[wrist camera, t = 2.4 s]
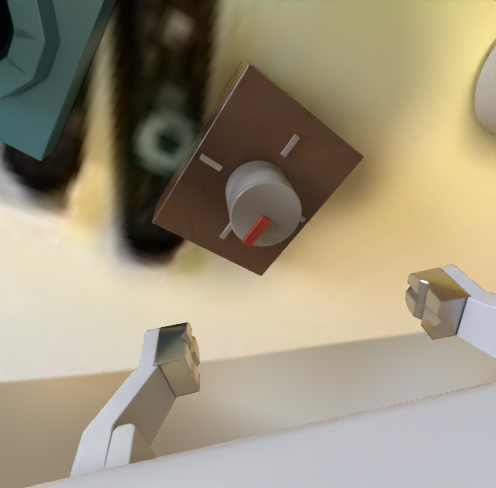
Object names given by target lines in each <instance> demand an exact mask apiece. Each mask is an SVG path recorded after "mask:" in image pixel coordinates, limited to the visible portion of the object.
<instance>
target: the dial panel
mask: <svg viewBox="0 0 496 488" xmlns="http://www.w3.org/2000/svg"><path fill="white" fill-rule="evenodd" d="M362 158H363V155H361V154H360V153H359V152H358V151H356V150H355V149H354V148H353V147H351V146H350V145H349V144H348V143H347V142H345V141H344V140H343V139H342V138H340V137H339V136H338V135H337V134H336V133H334V132H333V131H332V130H331V129H329V128H328V127H327V126H326V125H325V124H323V123H322V122H321V121H320V120H318V119H317V118H316V117H315V116H314V115H312V114H311V113H310V112H309V111H307V110H306V109H305V108H304V107H303V106H301V105H300V104H299V103H298V102H296V101H295V100H294V99H293V98H292V97H290V96H289V95H288V94H287V93H285V92H284V91H283V90H282V89H280V88H279V87H278V86H277V85H276V84H274V83H273V82H272V81H271V80H269V79H268V78H267V77H266V76H265V75H263V74H262V73H261V72H260V71H258V70H257V69H256V68H255V67H254V66H252V65H251V64H249V63H247V62H245V61H242V62H241V64H240V65H239V67H238V69H237V70H236V72H235V74H234V75H233V77H232V79H231V80H230V82H229V84H228V85H227V87H226V89H225V90H224V92H223V94H222V95H221V97H220V99H219V100H218V102H217V104H216V105H215V107H214V109H213V110H212V112H211V114H210V115H209V117H208V119H207V120H206V122H205V124H204V125H203V127H202V129H201V130H200V132H199V134H198V135H197V137H196V139H195V140H194V142H193V144H192V145H191V147H190V149H189V150H188V152H187V154H186V155H185V157H184V159H183V160H182V162H181V164H180V165H179V167H178V168H177V170H176V172H175V173H174V175H173V177H172V178H171V180H170V182H169V183H168V185H167V187H166V188H165V190H164V192H163V193H162V195H161V197H160V198H159V200H158V202H157V205H156V209H155V213H154V217H153V221H152V222H153V223H154V224H156V225H158V226H160V227H162V228H164V229H166V230H168V231H170V232H172V233H174V234H177V235H179V236H181V237H183V238H185V239H187V240H189V241H191V242H193V243H195V244H197V245H199V246H201V247H203V248H205V249H207V250H209V251H211V252H213V253H215V254H217V255H219V256H221V257H224V258H226V259H228V260H230V261H232V262H234V263H236V264H238V265H240V266H242V267H244V268H246V269H248V270H250V271H252V272H254V273H256V274H258V275H260V276H262V275H263V273H264V272H265V271H266V270H267V269H268V268H269V267H270V265H271V264H272V263H273V262H274V261H275V260H276V258H277V257H278V256H279V255H280V254H281V253H282V251H283V250H284V249H285V248H286V247H287V246H288V244H289V243H290V242H291V241H292V240H293V239H294V237H295V236H296V235H297V234H298V233H299V232H300V230H301V229H302V228H303V227H304V226H305V225H306V224H307V222H308V221H309V220H310V219H311V218H312V217H313V215H314V214H315V213H316V212H317V211H318V210H319V208H320V207H321V206H322V205H323V204H324V203H325V201H326V200H327V199H328V198H329V197H330V196H331V194H332V193H333V192H334V191H335V190H336V189H337V188H338V186H339V185H340V184H341V183H342V182H343V181H344V179H345V178H346V177H347V176H348V175H349V174H350V172H351V171H352V170H353V169H354V168H355V167H356V165H357V164H358V163H359V162H360V161H361V160H362ZM259 160H261V161H267V162H270V163H272V164H274V165H276V166H277V167H278V168H280V169H281V171H282V172H283V173H284V175H285V176H286V178H287V180H288V181H289V183H290V184H291V186H292V187H293V189H294V191H295V192H296V194H297V195H298V197H299V199H300V202H301V207H302V214H301V219H300V222H299V224H298V226H297V228H296V229H295V231H294V232H293V233H292V234H291V235H290V236H289V237H288V238H287V239H285V240H284V241H282V242H280V243H277V244H275V245H271V246H254V245H252V246H251V247H249V246H247V245H246V244H244V243H243V242H242V240H241V239H240V238H239V237H238V236H237V235H236V234H235V232H234V231H233V229H232V226H231V223H230V217H229V212H228V206H227V200H226V185H227V181H228V179H229V177H230V176H231V174H232V173H233V172H234V171H235V170H236V169H237V168H238V167H240V166H241V165H243V164H245V163H247V162H251V161H259Z"/></svg>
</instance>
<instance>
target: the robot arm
mask: <svg viewBox="0 0 496 488" xmlns="http://www.w3.org/2000/svg"><path fill="white" fill-rule="evenodd" d="M408 283H409V285H410V287H409V289H408V290H407V291H406V298H405V299H406V303H407V306H408V308H409V310H410V312H411V313H412V314H413V316H415V317H417V318H419V319H421V320H422V321H421V326H422V327H423V328H424V330H425V331H426V332H427V334H428V335H429V336H430V337H431V339H433V340H434V339H439V338H444V337H450V336H455V335H457V337H458V338H460V339H462V340H463V341H466V342H467V343H469V344H471V345H472V346H474V347H476V348H477V349H479V350H481V351H482V352H484V353H486V354H488V355H489V356H491V357H493V358H495V359H496V294H495V293H492V292H490V293H487V292H485V291H484V290H483V289H482V288H481V287H480V286H478V285H477V284H476V283H475V282H474V281H473V280H471V279H470V278H469V277H468V276H467V275H466V274H465V273H463V272H462V271H461V270H460V269H459V268H458V267H456V266H455V265H452V264H451V265H446V266H442V267H438V268H433V269H429V270H425V271H420V272H416V273H411V274H410V275H409V277H408ZM199 363H200V360H199V349H198V344H197V341H196V338H195V337H194V336H192V328H191V326H190V324H189V323H188V322H187V323H181V324H176V325H171V326H166V327H161V328H157V329H152V330H147V331H146V333H145V335H144V341H143V346H142V351H141V356H140V362H139V367H138V370H134V371H133V372H132V374H131V375H130V376H129V377H128V379H127V380H126V381H125V382H124V383H123V384H122V386H121V387H120V388H119V389H118V390H117V392H116V393H115V394H114V395H113V397H112V398H111V399H110V400H109V401H108V403H107V404H106V405H105V407H104V408H103V409H102V410H101V411H100V412H99V414H98V415H97V416H96V417H95V418H94V420H93V421H92V422H91V423H90V425H89V426H88V427H87V428H86V429H85V431H84V432H83V434H82V437H81V441H80V444H79V447H78V451H77V454H76V458H75V461H74V464H73V467H72V471H71V474H70V477H69V478H64V479H60V480H55V481H51V482H47V483H42V484H37V485H33V486H28V487H24V488H496V382H492V383H488V384H483V385H478V386H474V387H469V388H465V389H461V390H457V391H452V392H447V393H443V394H438V395H434V396H429V397H425V398H421V399H416V400H412V401H407V402H404V403H399V404H394V405H390V406H385V407H381V408H377V409H372V410H367V411H363V412H358V413H354V414H349V415H345V416H341V417H336V418H332V419H327V420H323V421H319V422H314V423H310V424H305V425H301V426H297V427H292V428H287V429H283V430H279V431H274V432H269V433H265V434H260V435H256V436H252V437H247V438H243V439H238V440H234V441H230V442H225V443H220V444H216V445H212V446H207V447H203V448H198V449H194V450H190V451H185V452H180V453H176V454H171V455H167V456H163V457H158V458H157V457H156V455H155V454H154V452H153V451H152V449H151V448H150V445H151V444H152V442H153V440H154V438H155V436H156V434H157V433H158V431H159V429H160V427H161V425H162V423H163V422H164V420H165V418H166V416H167V414H168V412H169V410H170V409H171V407H172V405H173V403H174V401H175V399H176V398H175V397H179V396H182V395H187V394H191V393H195V392H198V391H199V389H200V388H199V385H200V383H199V382H200V380H199V379H200V377H199V376H200V374H199V372H198V369H197V366H198V365H199Z"/></svg>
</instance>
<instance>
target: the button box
mask: <svg viewBox="0 0 496 488" xmlns="http://www.w3.org/2000/svg"><path fill="white" fill-rule="evenodd" d="M2 1H3V4H4V7H5V10H6V13H7V18H8V36H7V40H6V43H5V45H4V47H3V48H2V50H1V51H0V141H2V142H4V143H6V144H8V145H10V146H12V147H14V148H16V149H18V150H20V151H22V152H24V153H26V154H28V155H30V156H32V157H34V158H36V159H38V160H40V161H41V160H42V159H44V158H45V157H46V156H47V155H49V154H50V153H51V152H53V151H54V150H55V148H56V146H57V144H58V141H59V139H60V136H61V134H62V131H63V129H64V126H65V124H66V122H67V119H68V117H69V114H70V112H71V109H72V107H73V104H74V102H75V100H76V97H77V95H78V92H79V90H80V87H81V85H82V82H83V80H84V78H85V75H86V73H87V70H88V68H89V65H90V63H91V60H92V58H93V56H94V53H95V51H96V48H97V46H98V43H99V41H100V38H101V36H102V34H103V31H104V29H105V26H106V24H107V21H108V19H109V16H110V14H111V12H112V9H113V7H114V4H115V2H116V0H2Z"/></svg>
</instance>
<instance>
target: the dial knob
mask: <svg viewBox="0 0 496 488" xmlns="http://www.w3.org/2000/svg"><path fill="white" fill-rule="evenodd" d="M226 200H227V206H228V212H229V217H230V223H231V226H232V229H233V231H234V232H235V234H236V235H237V236H238V237H239V238H240V239H241V240H242V242H243V243H244V244H246V245H247V246H249V247H251V246H252V245H254V246H271V245H275V244H277V243H280V242H282V241H284V240H285V239H287V238H288V237H289V236H290V235H291V234H292V233H293V232H294V231H295V229H296V228H297V226H298V224H299V222H300V219H301V214H302V207H301V202H300V199H299V197H298V195H297V194H296V192H295V191H294V189H293V187H292V186H291V184H290V183H289V181H288V180H287V178H286V176H285V175H284V173H283V172H282V171H281V169H280V168H278V167H277V166H276V165H274V164H272V163H270V162H267V161H261V160H259V161H251V162H247V163H245V164H243V165H241V166H240V167H238V168H237V169H236V170H235V171H234V172H233V173H232V174H231V176H230V177H229V179H228V181H227V185H226Z"/></svg>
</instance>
